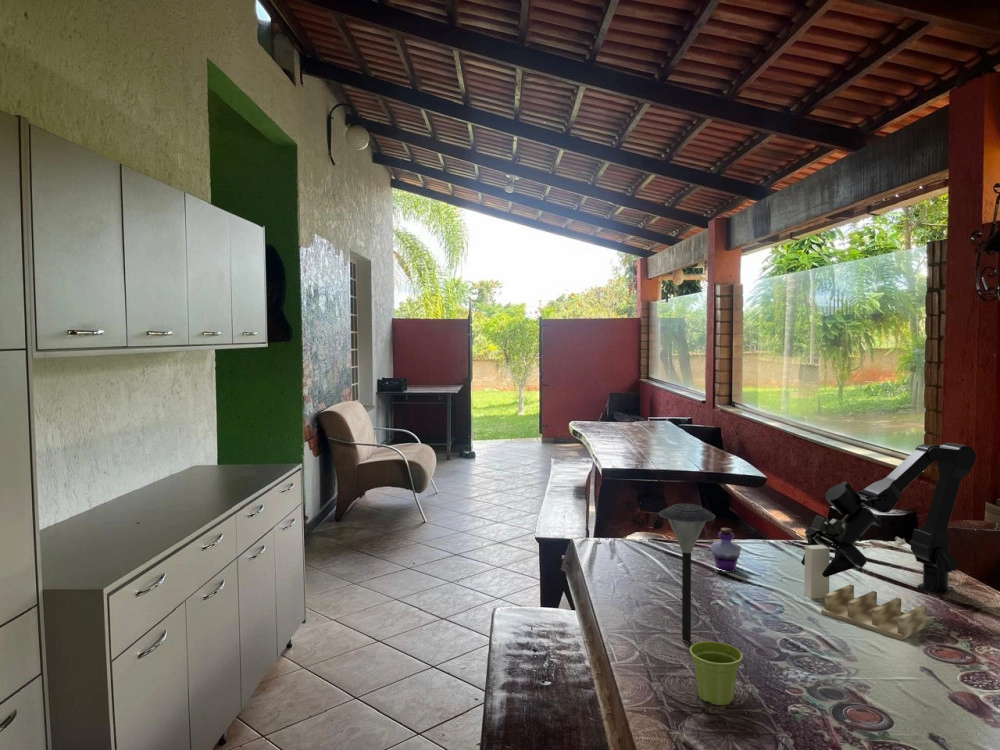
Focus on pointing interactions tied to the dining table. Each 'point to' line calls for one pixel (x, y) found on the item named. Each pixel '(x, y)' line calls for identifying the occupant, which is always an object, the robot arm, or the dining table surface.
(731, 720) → the dining table surface
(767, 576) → the dining table surface
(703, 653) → the plant pot
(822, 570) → the cream rectangular block
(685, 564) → the solar garden light
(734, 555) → the potion bottle
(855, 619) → the ridged tan cradle
